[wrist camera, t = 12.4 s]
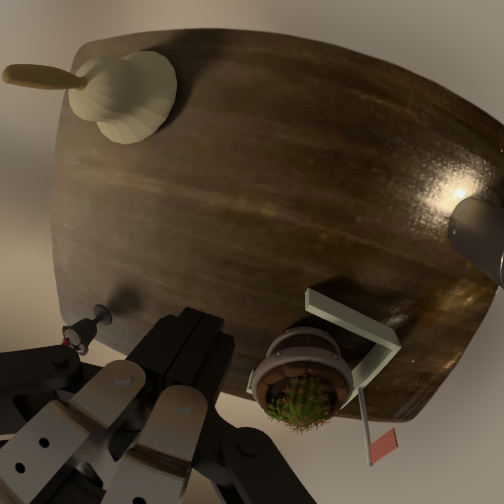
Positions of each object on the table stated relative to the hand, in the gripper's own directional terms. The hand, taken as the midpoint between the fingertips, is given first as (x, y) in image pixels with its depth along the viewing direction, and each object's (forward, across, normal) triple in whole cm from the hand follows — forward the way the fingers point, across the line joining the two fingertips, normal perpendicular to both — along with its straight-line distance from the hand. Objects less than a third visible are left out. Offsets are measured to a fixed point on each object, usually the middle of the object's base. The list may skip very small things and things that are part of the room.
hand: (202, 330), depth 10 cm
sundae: (+28, +29, +30) cm, 50 cm away
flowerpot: (+29, -11, +22) cm, 38 cm away
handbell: (+28, +25, -12) cm, 40 cm away
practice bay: (+29, -13, +22) cm, 39 cm away
